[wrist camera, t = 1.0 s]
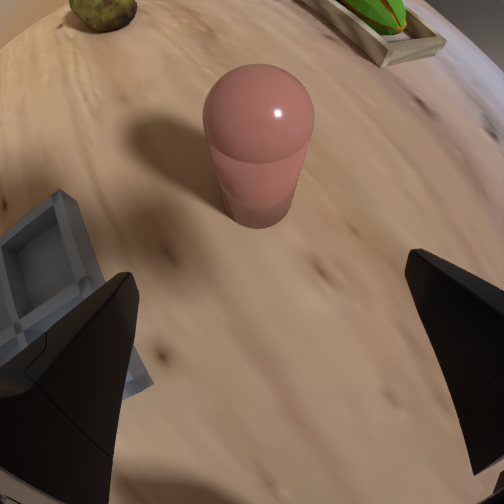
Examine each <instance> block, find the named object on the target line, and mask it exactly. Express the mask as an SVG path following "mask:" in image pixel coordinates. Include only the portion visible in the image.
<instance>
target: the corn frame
mask: <svg viewBox="0 0 504 504" xmlns="http://www.w3.org/2000/svg"><path fill="white" fill-rule="evenodd" d="M301 1H303V2H304V3H306V4H307V5H308V6H310V7H311V8H312V9H314V10H315V11H316V12H318V13H319V14H320V15H322V16H323V17H324V18H325V19H327V20H328V21H329V22H330V23H332V24H333V25H334V26H335V27H336V28H338V29H339V30H340V31H341V32H342V33H344V34H345V35H346V36H347V37H348V38H349V39H350V40H352V41H353V42H354V43H355V44H356V45H357V46H358V47H359V48H360V49H362V50H363V51H364V52H365V53H366V54H367V55H368V56H369V57H370V58H371V59H372V60H373V61H374V62H375V63H376V64H377V65H378V66H379V67H380V68H382V67H386V66H390V65H394V64H399V63H403V62H407V61H412V60H416V59H421V58H426V57H431V56H436V55H439V53H440V52H441V50H442V48H443V47H444V45H445V43H446V42H447V40H445V39H444V38H443V37H442V36H441V35H440V34H439V33H438V32H437V31H436V30H435V29H433V28H432V27H431V26H430V25H429V24H428V23H426V22H425V21H424V20H423V19H422V18H421V17H419V16H418V15H417V14H416V13H414V12H413V11H412V10H411V9H409V8H408V7H407V6H405V5H404V4H403V5H404V8H405V11H406V18H405V20H406V23H407V25H406V26H405V29H406V30H407V31H408V32H410V33H411V34H412V35H413V36H414V37H415V38H416V39H412V40H405V41H399V42H393V43H388V42H387V41H385V40H384V39H383V38H382V37H381V36H380V35H379V34H377V33H376V32H375V31H374V30H373V29H372V28H370V27H369V26H368V25H367V24H366V23H364V22H363V21H362V20H361V19H359V18H358V17H357V16H356V15H354V14H353V13H352V12H350V11H349V10H348V9H346V8H345V7H344V6H342V5H341V4H340V3H338V2H337V1H335V0H301Z"/></svg>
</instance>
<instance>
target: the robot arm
mask: <svg viewBox="0 0 504 504" xmlns="http://www.w3.org/2000/svg"><path fill="white" fill-rule="evenodd" d="M405 278H406V280H407V283H408V286H409V289H410V291H411V294H412V297H413V300H414V303H415V306H416V309H417V312H418V314H419V317H420V319H421V321H422V323H423V326H424V328H425V330H426V333H427V335H428V337H429V340H430V342H431V344H432V347H433V349H434V352H435V354H436V357H437V359H438V362H439V364H440V367H441V370H442V372H443V375H444V378H445V380H446V383H447V386H448V389H449V392H450V395H451V397H452V400H453V403H454V406H455V409H456V413H457V416H458V419H460V420H459V423H460V426H461V429H462V433H463V436H464V440H465V443H466V447H467V451H468V455H469V459H470V463H471V467H472V471H473V474H474V476H475V475H477V474H479V473H480V472H482V471H484V470H486V469H487V468H489V467H491V466H493V465H494V464H496V463H498V462H499V461H501V460H503V459H504V291H503V290H500V289H499V288H498V287H496V286H494V285H492V284H490V283H488V282H487V281H485V280H483V279H481V278H479V277H477V276H475V275H473V274H472V273H470V272H468V271H466V270H464V269H462V268H460V267H458V266H456V265H454V264H452V263H450V262H448V261H446V260H444V259H442V258H440V257H438V256H436V255H434V254H432V253H430V252H428V251H425V250H423V249H412V250H410V252H409V255H408V259H407V263H406V267H405ZM138 306H139V292H138V289H137V286H136V283H135V280H134V277H133V275H132V273H131V272H120V273H118V274H117V275H115V276H114V277H113V278H111V279H110V280H109V281H107V282H106V283H105V284H103V285H102V286H101V287H100V288H98V289H97V290H96V291H94V292H93V293H92V294H91V295H89V296H88V297H87V298H85V299H84V300H83V301H82V302H80V303H79V304H78V305H77V306H75V307H74V308H73V309H72V310H70V311H69V312H68V313H67V314H66V315H64V316H63V317H62V318H61V319H59V320H58V321H57V322H56V323H55V324H53V325H52V326H51V327H50V328H49V329H47V332H46V331H45V332H44V333H42V334H41V335H40V336H39V337H38V338H37V339H35V340H34V341H33V342H32V343H31V344H29V345H28V346H27V347H26V348H24V349H23V350H22V351H20V352H19V353H18V354H16V355H15V356H14V357H13V358H11V359H10V360H9V361H7V362H6V363H5V364H3V365H2V366H1V367H0V504H109V493H110V482H111V473H112V464H113V455H114V447H115V440H116V433H117V427H118V420H119V414H120V408H121V403H122V397H123V392H124V386H125V381H126V376H127V371H128V366H129V362H130V357H131V352H132V348H133V343H134V338H135V330H136V322H137V313H138ZM477 504H504V471H502V472H501V473H500V475H499V478H498V480H497V483H496V486H495V488H494V491H493V494H492V495H491V496H489V497H487V498H486V499H484V500H482V501H480V502H479V503H477Z"/></svg>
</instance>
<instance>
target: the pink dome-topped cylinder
mask: <svg viewBox="0 0 504 504" xmlns="http://www.w3.org/2000/svg"><path fill="white" fill-rule="evenodd" d="M203 126H204V131H205V135H206V139H207V143H208V146H209V150H210V154H211V158H212V162H213V165H214V169H215V173H216V177H217V181H218V184H219V188H220V192H221V196H222V199H223V203H224V206H225V209H226V211H227V213H228V214H229V216H230V217H231V218H232V219H233V220H234V221H235V222H237V223H238V224H240V225H242V226H245V227H248V228H253V229H262V228H267V227H270V226H273V225H275V224H276V223H278V222H279V221H281V220H282V219H283V218H284V217H285V215H286V214H287V212H288V211H289V208H290V206H291V202H292V199H293V196H294V192H295V189H296V186H297V182H298V179H299V176H300V172H301V169H302V165H303V162H304V159H305V155H306V152H307V148H308V145H309V141H310V138H311V135H312V131H313V126H314V108H313V104H312V101H311V98H310V96H309V94H308V92H307V90H306V89H305V87H304V86H303V85H302V83H301V82H300V81H299V80H298V79H297V78H296V77H294V76H293V75H292V74H290V73H289V72H287V71H285V70H283V69H281V68H279V67H276V66H272V65H267V64H249V65H244V66H241V67H238V68H235V69H233V70H231V71H230V72H228V73H226V74H225V75H223V76H222V77H221V78H220V79H219V80H218V81H217V82H216V83H215V84H214V85H213V87H212V88H211V90H210V91H209V93H208V95H207V97H206V100H205V103H204V107H203Z"/></svg>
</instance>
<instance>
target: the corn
mask: <svg viewBox="0 0 504 504" xmlns="http://www.w3.org/2000/svg"><path fill="white" fill-rule="evenodd" d="M335 1H336V0H335ZM340 1H341V2H342V3H343V4H344V5H345V6H346V7H347V8H348V9H350V10H351V11H352V12H353V13H354V14H355V15H356V16H357V17H358V18H359V19H361V20H362V21H363V22H364V23H366V24H367V25H368V26H369V27H370V28H372V29H373V30H374V31H375V32H376V33H377V34H379V35H395V34H399V33H401V32H402V31H403V29H404V28H405V26H406V25H407V23H406V20H405V18H406V11H405V8H404V5H403V2H402V0H340ZM337 2H338V1H337ZM338 3H339V2H338ZM342 6H343V5H342Z"/></svg>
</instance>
